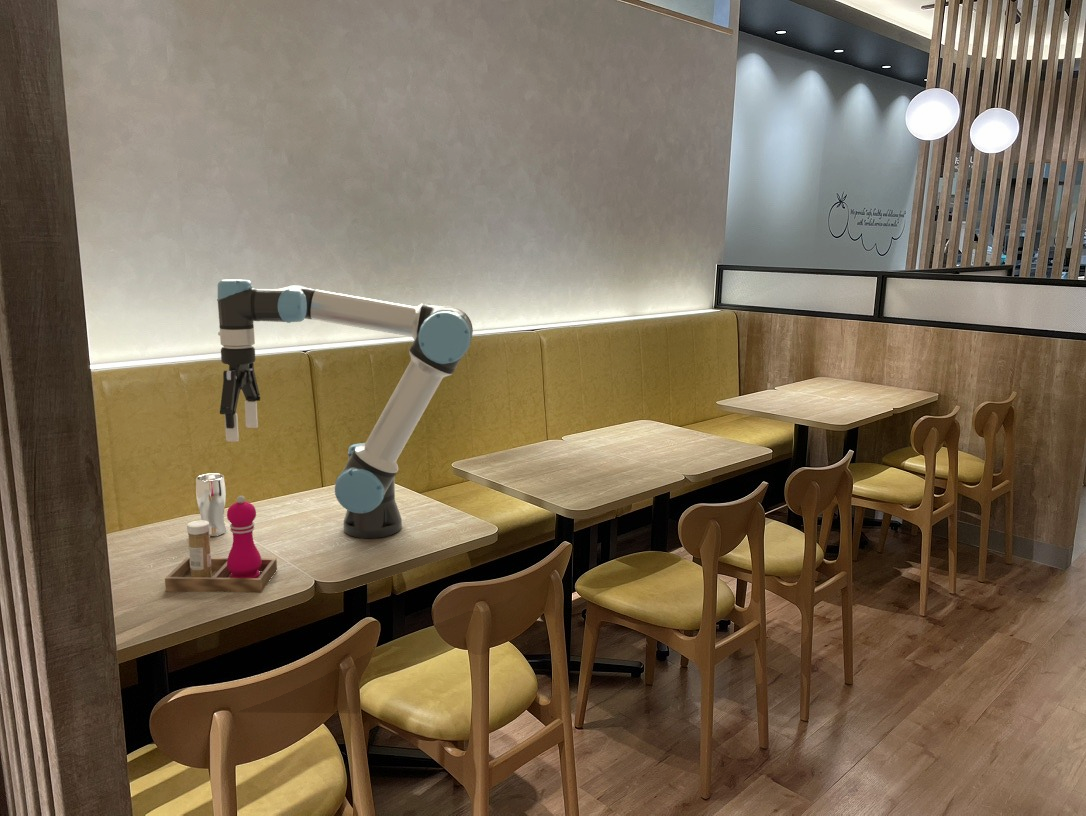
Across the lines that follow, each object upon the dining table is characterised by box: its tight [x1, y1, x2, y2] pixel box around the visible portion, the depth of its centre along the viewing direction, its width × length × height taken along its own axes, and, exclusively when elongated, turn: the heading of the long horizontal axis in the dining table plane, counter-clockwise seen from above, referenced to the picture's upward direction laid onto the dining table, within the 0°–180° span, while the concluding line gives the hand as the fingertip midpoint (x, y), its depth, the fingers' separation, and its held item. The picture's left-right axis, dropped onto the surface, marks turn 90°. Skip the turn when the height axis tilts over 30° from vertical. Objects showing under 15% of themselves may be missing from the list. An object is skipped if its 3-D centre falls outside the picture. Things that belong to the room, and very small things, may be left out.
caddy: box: [164, 556, 278, 594], centre depth 181 cm, size 20×12×3 cm, turn 91°
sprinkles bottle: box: [186, 519, 213, 578], centre depth 180 cm, size 5×5×14 cm
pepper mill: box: [226, 495, 262, 578], centre depth 179 cm, size 7×7×20 cm
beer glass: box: [195, 472, 227, 537], centre depth 207 cm, size 7×7×15 cm
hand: (242, 434), depth 194 cm, fingers open, 13 cm apart
